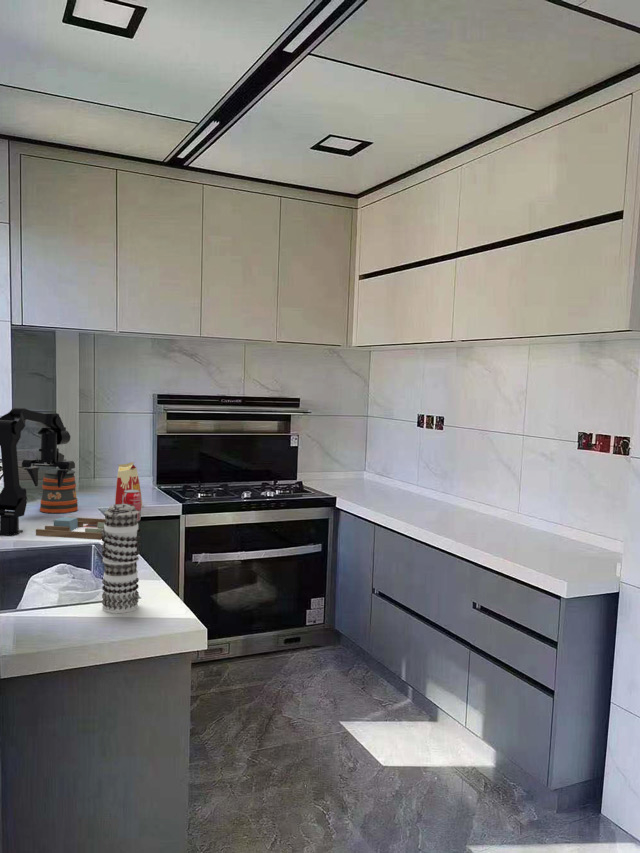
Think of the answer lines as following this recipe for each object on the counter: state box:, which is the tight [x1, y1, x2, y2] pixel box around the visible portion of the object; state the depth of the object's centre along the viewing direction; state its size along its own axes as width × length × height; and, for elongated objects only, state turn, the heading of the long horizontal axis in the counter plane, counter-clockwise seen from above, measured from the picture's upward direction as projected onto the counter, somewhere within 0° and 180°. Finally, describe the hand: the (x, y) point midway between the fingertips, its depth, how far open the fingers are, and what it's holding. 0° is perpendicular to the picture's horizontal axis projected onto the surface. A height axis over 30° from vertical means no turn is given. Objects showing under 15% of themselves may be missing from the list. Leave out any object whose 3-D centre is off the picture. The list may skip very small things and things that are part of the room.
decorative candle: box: [101, 503, 142, 614], centre depth 166 cm, size 9×9×25 cm
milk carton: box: [114, 461, 144, 509], centre depth 291 cm, size 9×9×20 cm
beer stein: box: [39, 458, 79, 515], centre depth 284 cm, size 19×15×20 cm
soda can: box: [122, 490, 142, 523], centre depth 265 cm, size 7×7×12 cm
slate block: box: [53, 516, 79, 531], centre depth 248 cm, size 6×6×4 cm
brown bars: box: [35, 516, 106, 540], centre depth 247 cm, size 23×26×3 cm
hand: (47, 486), depth 261 cm, fingers open, 9 cm apart
